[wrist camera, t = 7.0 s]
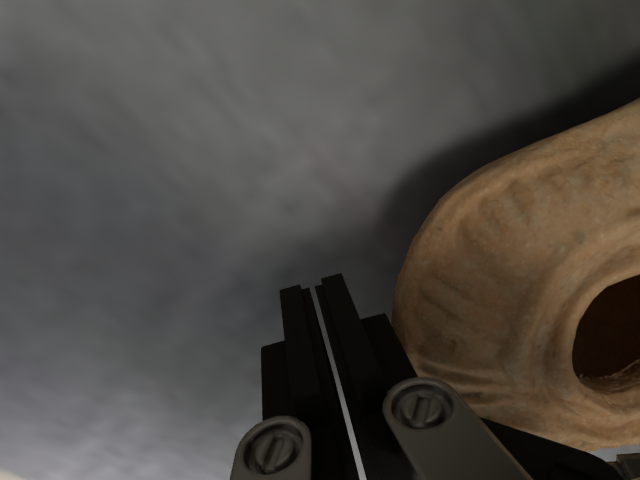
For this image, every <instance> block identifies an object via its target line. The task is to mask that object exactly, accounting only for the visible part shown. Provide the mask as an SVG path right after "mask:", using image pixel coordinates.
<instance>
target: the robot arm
mask: <svg viewBox="0 0 640 480" xmlns="http://www.w3.org/2000/svg"><path fill="white" fill-rule="evenodd" d="M321 281H322V284H321V285H317V286H315V289H316V293H317V297H318V301H319V304H320V308H321V312H322V315H323V319H324V323H325V327H326V330H327V334H328V338H329V341H330V345H331V349H332V353H333V356H334V360H335V364H336V367H337V371H338V375H339V378H340V382H341V386H342V390H343V393H344V397H345V401H346V404H347V408H348V412H349V415H350V419H351V423H352V427H353V430H354V434H355V438H356V441H357V445H358V449H359V452H360V456H361V460H362V464H363V467H364V471H365V475H366V478H367V480H640V453H633V454H618V455H617V457H616V461H615V462H605V461H604V460H602V459H601V458H599V457H596V456H594V455H592V454H590V453H587V452H585V451H582V450H579V449H576V448H573V447H570V446H567V445H564V444H561V443H558V442H555V441H552V440H549V439H546V438H542V437H539V436H536V435H533V434H530V433H527V432H524V431H521V430H518V429H515V428H512V427H509V426H506V425H503V424H500V423H497V422H494V421H491V420H488V419H485V418H482V417H479V416H477V414H476V413H475V412H474V411H473V410H472V409H471V407H470V406H469V405H468V404H467V403H466V402H465V401H464V399H463V398H462V397H461V396H460V395H459V394H458V392H457V391H456V390H455V389H454V388H452V387H451V386H450V385H449V384H448V383H446V382H443V381H441V380H439V379H436V378H430V377H418V375H417V374H416V372H415V370H414V368H413V366H412V364H411V362H410V360H409V358H408V356H407V354H406V352H405V350H404V348H403V346H402V345H401V343H400V341H399V339H398V337H397V335H396V333H395V331H394V329H393V327H392V325H391V323H390V321H389V319H388V318H387V316H386V314H385V313H382V314H378V315H375V316H371V317H368V318H364V319H360V318H359V315H358V313H357V310H356V308H355V305H354V303H353V301H352V298H351V296H350V293H349V291H348V288H347V286H346V283H345V281H344V279H343V276H342V274H341V273H340V274H336V275H333V276H329V277H325V278H322V279H321ZM280 300H281V309H282V318H283V328H284V337H285V340H284V341H281V342H277V343H274V344H270V345H266V346H263V347H262V348H261V375H262V416H263V421H262V422H260V423H258V424H257V425H255V426H254V427H253V428H251V429H250V430H249V431H248V432H247V433H246V434H245V435H244V437H243V438H242V440H241V441H240V442H239V445H238V447H237V450H236V453H235V457H234V462H233V466H232V471H231V476H230V480H360V479H359V475H358V471H357V467H356V463H355V459H354V455H353V451H352V447H351V443H350V439H349V435H348V431H347V427H346V423H345V419H344V415H343V411H342V407H341V403H340V399H339V395H338V391H337V387H336V383H335V379H334V376H333V372H332V368H331V364H330V361H329V357H328V354H327V350H326V346H325V343H324V339H323V336H322V332H321V328H320V325H319V321H318V317H317V314H316V310H315V307H314V303H313V299H312V296H311V292H310V289H309V288H306V289H302V290H301V286H300V284H299V285H296V286H292V287H288V288H285V289H281V290H280Z"/></svg>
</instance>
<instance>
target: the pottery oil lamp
mask: <svg viewBox="0 0 640 480" xmlns="http://www.w3.org/2000/svg"><path fill="white" fill-rule="evenodd" d="M392 312H393V313H392V327H393V329H394V331H395V333H396V335H397V337H398V339H399V341H400V343H401V345H402V346H403V348H404V350H405V352H406V354H407V356H408V358H409V360H410V362H411V364H412V366H413V368H414V370H415V372H416V374H417V375H418V377H430V378H436V379H439V380H441V381H443V382H446V383H448V384H449V385H450V386H451V387H452V388H454V389H455V390H456V391H457V392H458V394H459V395H460V396H461V397H462V398H463V399H464V401H465V402H466V403H467V404H468V405H469V406H470V407H471V409H472V410H473V411H474V412H475V413H476V414H477V416H479V417H482V418H485V419H488V420H491V421H494V422H497V423H500V424H503V425H506V426H509V427H512V428H515V429H518V430H521V431H524V432H527V433H530V434H533V435H536V436H539V437H542V438H546V439H549V440H552V441H555V442H558V443H561V444H564V445H567V446H570V447H573V448H576V449H579V450H582V451H585V452H587V451H594V450H597V449H599V448H615V447H619V446H622V445H637V444H640V98H638V99H636V100H635V101H632V102H630V103H628V104H626V105H624V106H622V107H620V108H618V109H616V110H614V111H612V112H609V113H607V114H605V115H602V116H600V117H597V118H595V119H593V120H591V121H588V122H585V123H583V124H580V125H577V126H575V127H572V128H569V129H567V130H565V131H563V132H561V133H558V134H555V135H553V136H551V137H548V138H545V139H542V140H539V141H537V142H535V143H533V144H531V145H528V146H526V147H524V148H522V149H519V150H517V151H515V152H512V153H510V154H508V155H505V156H503V157H501V158H499V159H497V160H495V161H493V162H490V163H488V164H487V165H485V166H483V167H481V168H480V169H478V170H476V171H475V172H473V173H471V174H470V175H469V176H467V177H466V178H464V179H463V180H462V181H460V182H459V183H458V184H456V185H455V186H454V187H453V188H452V189H450V190H449V191H448V192H446V193H445V194H444V195H443V196H442V197H441V198H440V199H439V201H438V202H437V204H436V205H435V207H434V208H433V209H432V211H431V212H430V213H429V215H428V216H427V218H426V219H425V221H424V222H423V224H422V226H421V227H420V229H419V230H418V232H417V234H416V235H415V237H414V238H413V240H412V243H411V246H410V247H409V250H408V253H407V256H406V258H405V261H404V264H403V266H402V269H401V271H400V273H399V276H398V280H397V284H396V288H395V290H394V296H393V308H392Z"/></svg>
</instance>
